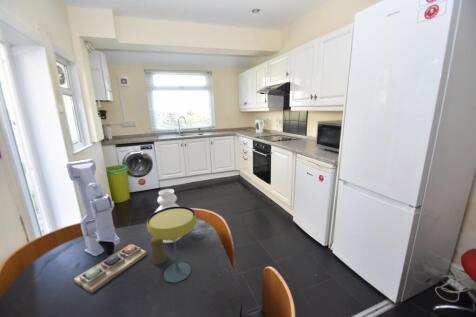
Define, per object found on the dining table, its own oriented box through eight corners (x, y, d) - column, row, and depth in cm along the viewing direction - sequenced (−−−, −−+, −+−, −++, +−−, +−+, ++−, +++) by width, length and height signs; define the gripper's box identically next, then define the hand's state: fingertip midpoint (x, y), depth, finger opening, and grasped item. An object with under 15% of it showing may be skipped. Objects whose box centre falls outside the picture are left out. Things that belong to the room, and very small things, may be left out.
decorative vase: (183, 246, 103) (178, 198, 97) (147, 246, 103) (140, 199, 98) (191, 226, 120) (188, 185, 115) (160, 227, 120) (155, 185, 115)
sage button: (84, 278, 82) (83, 273, 81) (96, 270, 86) (95, 266, 85) (90, 282, 80) (89, 277, 79) (102, 274, 84) (101, 270, 83)
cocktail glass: (207, 261, 92) (203, 208, 86) (185, 295, 75) (178, 232, 69) (171, 254, 97) (166, 204, 92) (143, 284, 80) (134, 225, 75)
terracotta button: (122, 253, 96) (122, 250, 95) (131, 248, 99) (131, 244, 99) (128, 256, 94) (128, 252, 93) (137, 251, 97) (137, 247, 97)
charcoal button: (104, 263, 89) (103, 259, 88) (114, 257, 92) (114, 253, 92) (110, 267, 87) (110, 262, 86) (121, 260, 90) (120, 256, 90)
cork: (161, 265, 90) (158, 242, 88) (149, 263, 91) (145, 241, 89) (168, 255, 96) (166, 234, 94) (156, 254, 97) (154, 233, 95)
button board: (74, 281, 82) (73, 275, 82) (130, 247, 103) (129, 241, 102) (91, 293, 77) (90, 286, 76) (146, 254, 97) (146, 248, 97)
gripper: (84, 225, 85) (90, 254, 88) (105, 234, 78) (110, 266, 81) (102, 217, 91) (107, 245, 94) (123, 225, 84) (127, 255, 87)
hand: (110, 254), depth 88 cm, fingers closed
